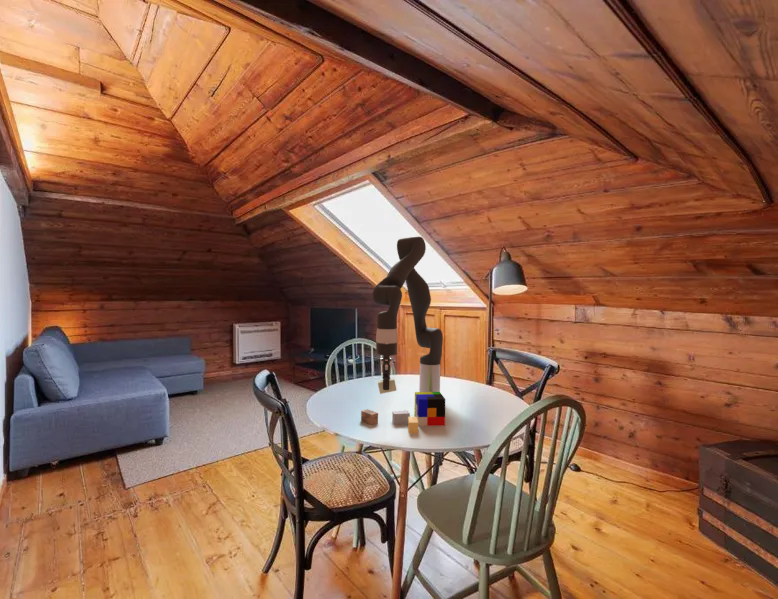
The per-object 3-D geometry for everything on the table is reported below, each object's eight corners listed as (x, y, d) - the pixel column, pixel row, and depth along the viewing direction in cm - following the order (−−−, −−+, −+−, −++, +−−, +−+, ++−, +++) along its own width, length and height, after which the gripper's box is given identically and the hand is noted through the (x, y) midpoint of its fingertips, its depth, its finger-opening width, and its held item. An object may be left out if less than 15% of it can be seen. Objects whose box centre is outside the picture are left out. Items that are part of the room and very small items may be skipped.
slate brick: (394, 424, 148) (394, 414, 148) (392, 421, 151) (392, 411, 151) (409, 423, 149) (409, 413, 149) (407, 420, 152) (407, 410, 152)
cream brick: (380, 393, 141) (377, 383, 141) (380, 391, 144) (378, 380, 144) (396, 390, 141) (394, 379, 141) (396, 388, 144) (394, 377, 144)
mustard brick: (407, 427, 145) (408, 416, 145) (416, 427, 145) (416, 416, 145) (408, 433, 139) (409, 422, 139) (417, 433, 139) (418, 422, 139)
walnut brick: (361, 421, 151) (361, 410, 151) (367, 419, 153) (367, 409, 153) (371, 425, 147) (371, 414, 146) (377, 423, 149) (378, 412, 149)
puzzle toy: (418, 425, 147) (418, 399, 146) (414, 416, 157) (414, 392, 156) (444, 425, 148) (445, 399, 147) (439, 416, 157) (439, 391, 157)
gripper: (376, 338, 149) (376, 383, 149) (375, 343, 135) (375, 393, 135) (396, 338, 149) (395, 383, 150) (397, 344, 135) (397, 393, 135)
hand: (386, 388), depth 142 cm, fingers closed on cream brick, 3 cm apart
